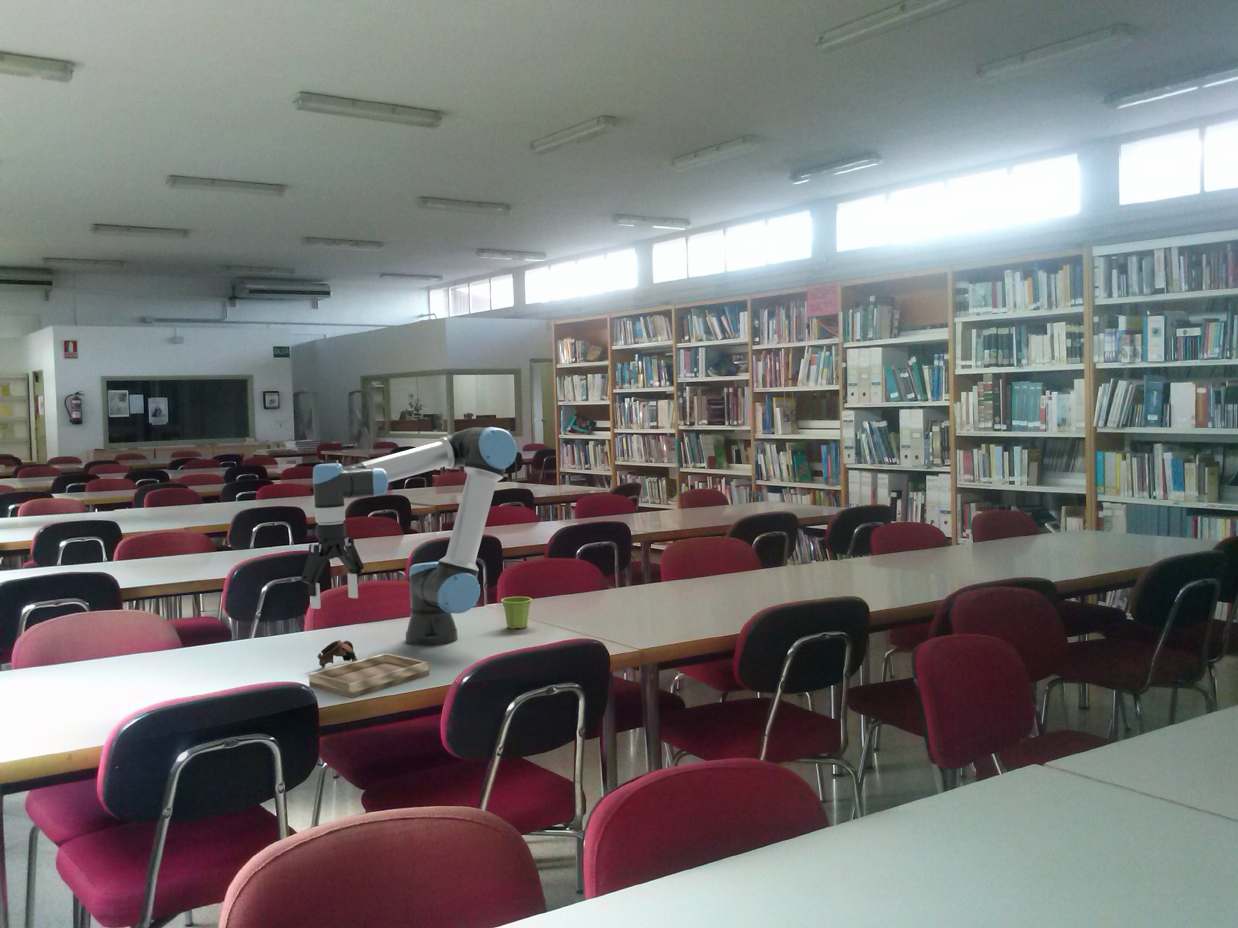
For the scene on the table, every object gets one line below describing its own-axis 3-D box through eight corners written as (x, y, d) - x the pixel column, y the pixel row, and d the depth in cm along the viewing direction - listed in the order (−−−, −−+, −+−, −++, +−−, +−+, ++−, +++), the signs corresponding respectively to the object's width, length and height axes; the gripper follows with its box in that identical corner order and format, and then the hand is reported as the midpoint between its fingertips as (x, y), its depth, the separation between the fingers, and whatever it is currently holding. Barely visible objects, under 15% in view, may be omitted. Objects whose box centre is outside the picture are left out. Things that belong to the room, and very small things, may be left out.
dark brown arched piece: (355, 673, 257) (337, 649, 255) (326, 688, 259) (308, 663, 257) (369, 651, 269) (352, 627, 266) (341, 665, 270) (324, 641, 268)
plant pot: (516, 622, 312) (515, 595, 311) (538, 625, 306) (538, 598, 306) (495, 628, 304) (495, 600, 304) (518, 631, 299) (517, 603, 298)
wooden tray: (386, 664, 263) (386, 653, 263) (429, 674, 253) (428, 662, 253) (309, 686, 244) (308, 673, 244) (352, 697, 234) (351, 684, 234)
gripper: (353, 516, 270) (357, 592, 271) (283, 528, 248) (288, 611, 249) (374, 517, 266) (378, 594, 268) (305, 529, 244) (310, 613, 246)
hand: (335, 602), depth 258 cm, fingers open, 13 cm apart
